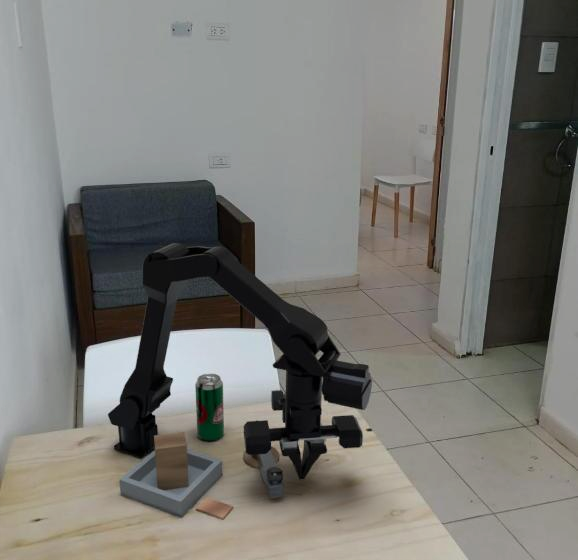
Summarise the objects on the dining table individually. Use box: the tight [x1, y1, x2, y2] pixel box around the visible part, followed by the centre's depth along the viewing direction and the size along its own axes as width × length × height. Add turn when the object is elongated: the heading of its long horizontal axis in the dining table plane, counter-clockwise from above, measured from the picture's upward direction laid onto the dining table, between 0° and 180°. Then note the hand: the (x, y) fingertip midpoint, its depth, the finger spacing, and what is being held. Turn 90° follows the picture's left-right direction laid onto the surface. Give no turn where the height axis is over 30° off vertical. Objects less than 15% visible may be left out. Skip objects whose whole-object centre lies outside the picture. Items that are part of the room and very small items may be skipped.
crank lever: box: [251, 450, 285, 499], centre depth 105 cm, size 14×4×4 cm, turn 14°
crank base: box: [195, 445, 280, 520], centre depth 105 cm, size 6×20×1 cm, turn 154°
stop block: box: [154, 431, 189, 490], centre depth 102 cm, size 4×5×8 cm
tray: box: [118, 448, 223, 519], centre depth 103 cm, size 12×12×3 cm
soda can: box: [194, 373, 225, 442], centre depth 116 cm, size 5×5×12 cm
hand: (301, 478), depth 102 cm, fingers closed
